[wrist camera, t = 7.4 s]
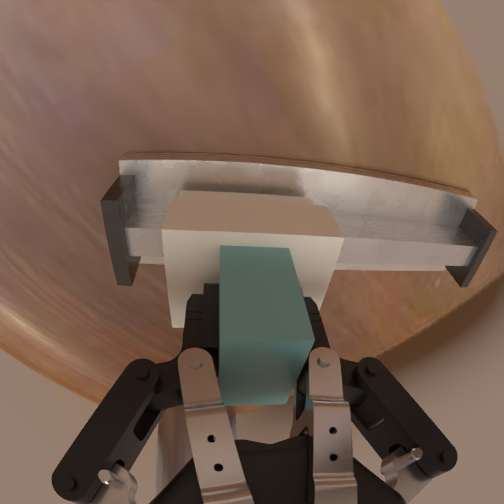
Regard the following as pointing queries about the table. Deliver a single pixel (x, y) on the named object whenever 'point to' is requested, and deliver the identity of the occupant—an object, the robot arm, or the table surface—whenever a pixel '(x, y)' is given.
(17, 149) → the table surface
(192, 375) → the robot arm
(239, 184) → the metal rail
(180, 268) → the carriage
